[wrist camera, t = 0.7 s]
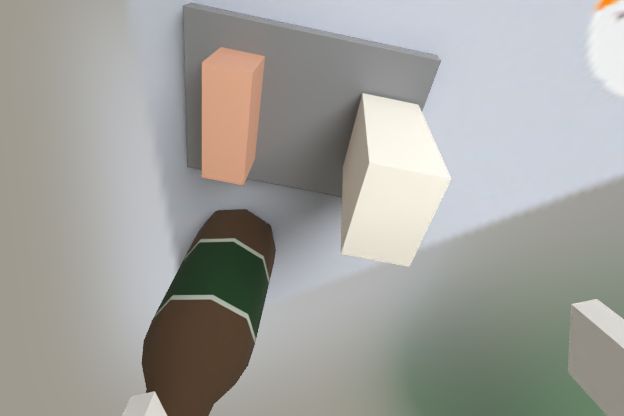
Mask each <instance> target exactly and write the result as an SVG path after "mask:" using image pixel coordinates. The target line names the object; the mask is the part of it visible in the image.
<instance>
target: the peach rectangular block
mask: <svg viewBox="0 0 624 416" xmlns="http://www.w3.org/2000/svg"><path fill="white" fill-rule="evenodd" d="M264 62H265V56H262V55H257V54H252V53H248V52H243V51H238V50H233V49H228V48H224V47H220V48H219V49H218V50H217V51H215V52H214V53H213V54H212V55H210V56H209V57H208V58H207V59H206V60H204V61H203V62H202V178H207V179H212V180H217V181H222V182H227V183H233V184H238V185H243V186H244V183H245V181H246V179H247V176H248V174H249V172H250V169H251V167H252V165H253V162H254V160H255V153H256V143H257V133H258V123H259V113H260V102H261V92H262V82H263V72H264Z"/></svg>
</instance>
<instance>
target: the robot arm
mask: <svg viewBox="0 0 624 416" xmlns="http://www.w3.org/2000/svg"><path fill="white" fill-rule="evenodd" d="M568 373H569V374H570V375H571V376H572V377H573V378H574V379H575V380H576V381H577V383H578V384H579V385H580V386H581V387H582V388H583V389H584V390H585V392H587V394H588V395H589V396H590V397H591V398H592V399H593V400H594V401H595V403H596V404H598V406H599V407H600V408H601V409H602V410H603V411H604V413H605V414H606V415H607V416H624V319H622V318H621V317H620V316H618V315H617V314H616V313H615V312H613V311H612V310H611V309H609V308H608V307H607V306H605V305H604V304H603V303H601V302H600V301H599V300H597V299H594V300H590V301H585V302H580V303H575V304H572V305H571V323H570V342H569V361H568ZM122 416H167V414H166V412H165V410H164V408H163V406H162V404H161V402H160V400H159V398H158V396H157V395H156V393H155V391H154V392H149V393H144V394H140V395H135V396H131V398H130V400H129V402H128V404H127V406H126V408H125V410H124V413H123V415H122Z"/></svg>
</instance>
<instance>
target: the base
mask: <svg viewBox="0 0 624 416" xmlns="http://www.w3.org/2000/svg"><path fill="white" fill-rule="evenodd" d="M183 21H184V58H185V95H186V132H187V167H190V168H195V169H200V170H202V62H203V61H204V60H206V59H207V58H208V57H209V56H210V55H212V54H213V53H214V52H215V51H217V50H218V49H219V48H220V47H224V48H228V49H233V50H238V51H243V52H248V53H252V54H257V55H262V56H265V62H264V72H263V82H262V92H261V102H260V113H259V123H258V133H257V143H256V153H255V160H254V162H253V165H252V167H251V169H250V172H249V174H248V176H247V179H251V180H256V181H262V182H267V183H272V184H277V185H282V186H287V187H292V188H297V189H303V190H308V191H313V192H318V193H323V194H328V195H333V196H339V197H342V184H343V165H344V161H345V157H346V153H347V150H348V146H349V142H350V138H351V134H352V131H353V127H354V123H355V119H356V116H357V112H358V108H359V104H360V100H361V97H362V93H365V94H370V95H375V96H379V97H384V98H389V99H394V100H399V101H403V102H408V103H413V104H418V105H419V107H420V109H421V112H422V110H423V108H424V105H425V102H426V100H427V97H428V94H429V92H430V89H431V86H432V84H433V81H434V78H435V76H436V73H437V70H438V68H439V65H440V62H441V60H440V59H439V58H438V56H437V55H433V54H429V53H424V52H419V51H415V50H410V49H405V48H401V47H396V46H391V45H386V44H382V43H377V42H372V41H368V40H363V39H358V38H354V37H349V36H344V35H340V34H335V33H330V32H326V31H321V30H316V29H311V28H307V27H302V26H297V25H293V24H288V23H283V22H279V21H274V20H269V19H265V18H260V17H255V16H251V15H246V14H241V13H236V12H232V11H227V10H222V9H218V8H213V7H208V6H204V5H199V4H194V3H189V4H187V5H184V6H183Z"/></svg>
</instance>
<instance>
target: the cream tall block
mask: <svg viewBox="0 0 624 416" xmlns="http://www.w3.org/2000/svg"><path fill="white" fill-rule="evenodd" d="M450 181H451V177H450V175H449V173H448V171H447V168H446V166H445V164H444V161H443V159H442V157H441V155H440V152H439V150H438V148H437V146H436V143H435V141H434V139H433V136H432V134H431V132H430V130H429V127H428V125H427V123H426V121H425V118H424V116H423V114H422V112H421V109H420V107H419V105H418V104H413V103H408V102H403V101H399V100H394V99H389V98H384V97H379V96H375V95H370V94H365V93H362V97H361V100H360V104H359V108H358V112H357V116H356V119H355V123H354V127H353V131H352V134H351V138H350V142H349V146H348V150H347V153H346V157H345V161H344V165H343V184H342V230H341V254H344V255H349V256H355V257H360V258H365V259H371V260H376V261H381V262H386V263H392V264H397V265H402V266H408V267H409V266H410V264H411V262H412V260H413V258H414V256H415V254H416V252H417V250H418V248H419V246H420V243H421V241H422V239H423V237H424V235H425V233H426V231H427V229H428V227H429V225H430V223H431V221H432V218H433V216H434V214H435V212H436V210H437V208H438V206H439V204H440V202H441V200H442V198H443V195H444V193H445V191H446V189H447V187H448V185H449V183H450Z"/></svg>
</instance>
